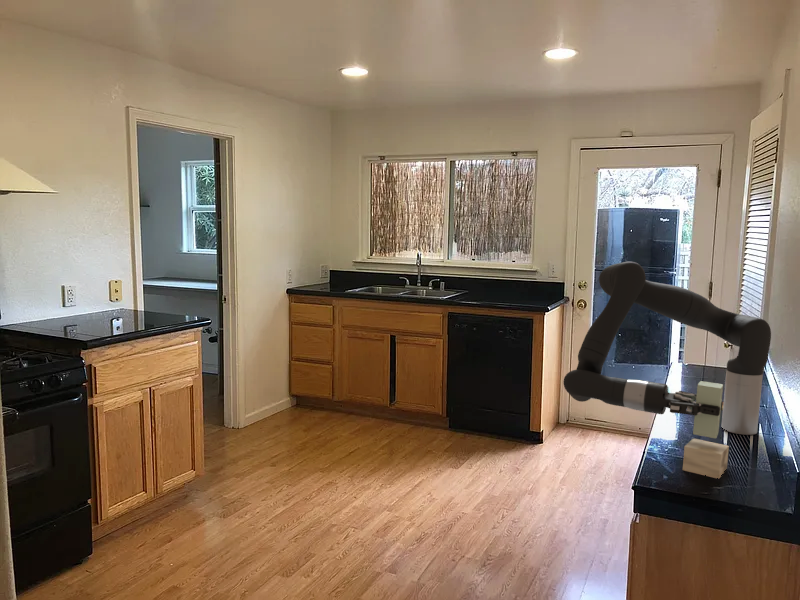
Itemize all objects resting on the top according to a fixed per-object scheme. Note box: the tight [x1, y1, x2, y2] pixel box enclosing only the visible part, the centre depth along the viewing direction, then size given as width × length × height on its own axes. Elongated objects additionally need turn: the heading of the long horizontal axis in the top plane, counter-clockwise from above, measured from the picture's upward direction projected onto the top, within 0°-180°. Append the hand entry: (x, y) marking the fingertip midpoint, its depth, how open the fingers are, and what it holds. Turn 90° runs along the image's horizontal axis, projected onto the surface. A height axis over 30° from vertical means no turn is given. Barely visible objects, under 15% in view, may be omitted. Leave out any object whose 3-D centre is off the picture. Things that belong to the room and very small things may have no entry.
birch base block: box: [682, 438, 730, 479], centre depth 155 cm, size 8×8×6 cm
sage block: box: [692, 380, 724, 439], centre depth 155 cm, size 5×5×12 cm
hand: (720, 408), depth 153 cm, fingers closed on sage block, 5 cm apart
